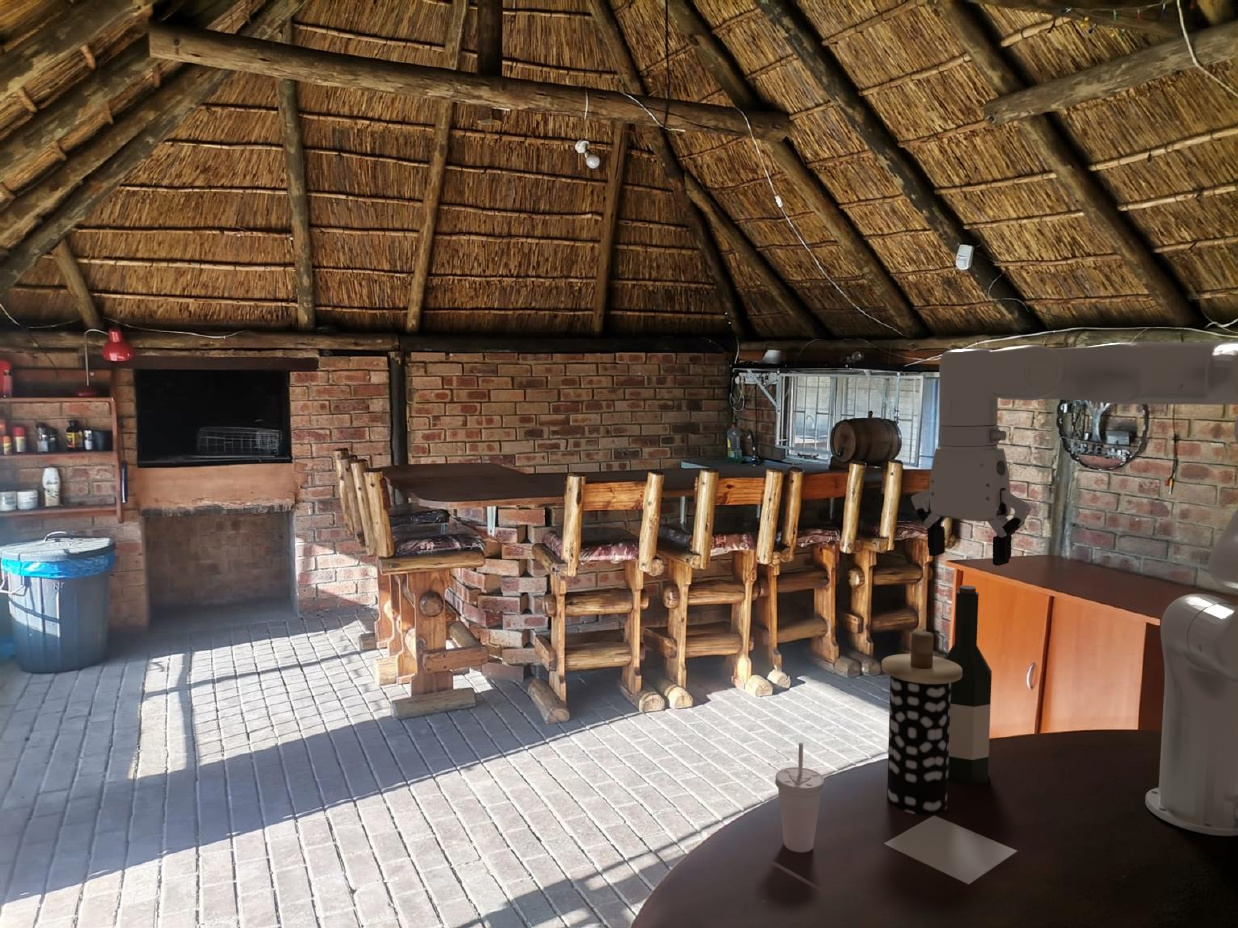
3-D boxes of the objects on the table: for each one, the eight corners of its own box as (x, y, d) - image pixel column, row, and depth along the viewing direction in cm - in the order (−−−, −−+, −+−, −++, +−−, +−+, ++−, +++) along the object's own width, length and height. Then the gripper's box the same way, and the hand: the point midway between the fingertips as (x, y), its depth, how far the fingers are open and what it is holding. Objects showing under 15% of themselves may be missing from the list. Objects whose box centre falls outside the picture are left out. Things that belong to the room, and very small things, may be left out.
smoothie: (825, 839, 116) (827, 739, 115) (820, 863, 110) (822, 758, 109) (778, 831, 119) (779, 732, 117) (770, 855, 112) (771, 751, 111)
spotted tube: (940, 822, 121) (944, 684, 119) (880, 807, 125) (883, 673, 123) (952, 798, 128) (956, 667, 126) (895, 785, 132) (898, 658, 130)
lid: (976, 672, 124) (978, 635, 123) (935, 689, 117) (937, 650, 116) (908, 654, 132) (909, 619, 132) (866, 669, 125) (867, 632, 125)
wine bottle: (998, 786, 132) (1006, 593, 129) (943, 785, 132) (950, 593, 129) (977, 762, 140) (984, 581, 137) (925, 762, 140) (931, 581, 137)
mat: (1017, 853, 113) (1017, 850, 113) (968, 886, 105) (968, 883, 105) (933, 817, 122) (933, 815, 122) (883, 846, 115) (884, 843, 115)
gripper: (1043, 438, 115) (1042, 563, 117) (927, 435, 129) (927, 547, 131) (1015, 441, 111) (1014, 572, 112) (898, 438, 124) (898, 555, 126)
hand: (967, 559), depth 121 cm, fingers open, 9 cm apart
